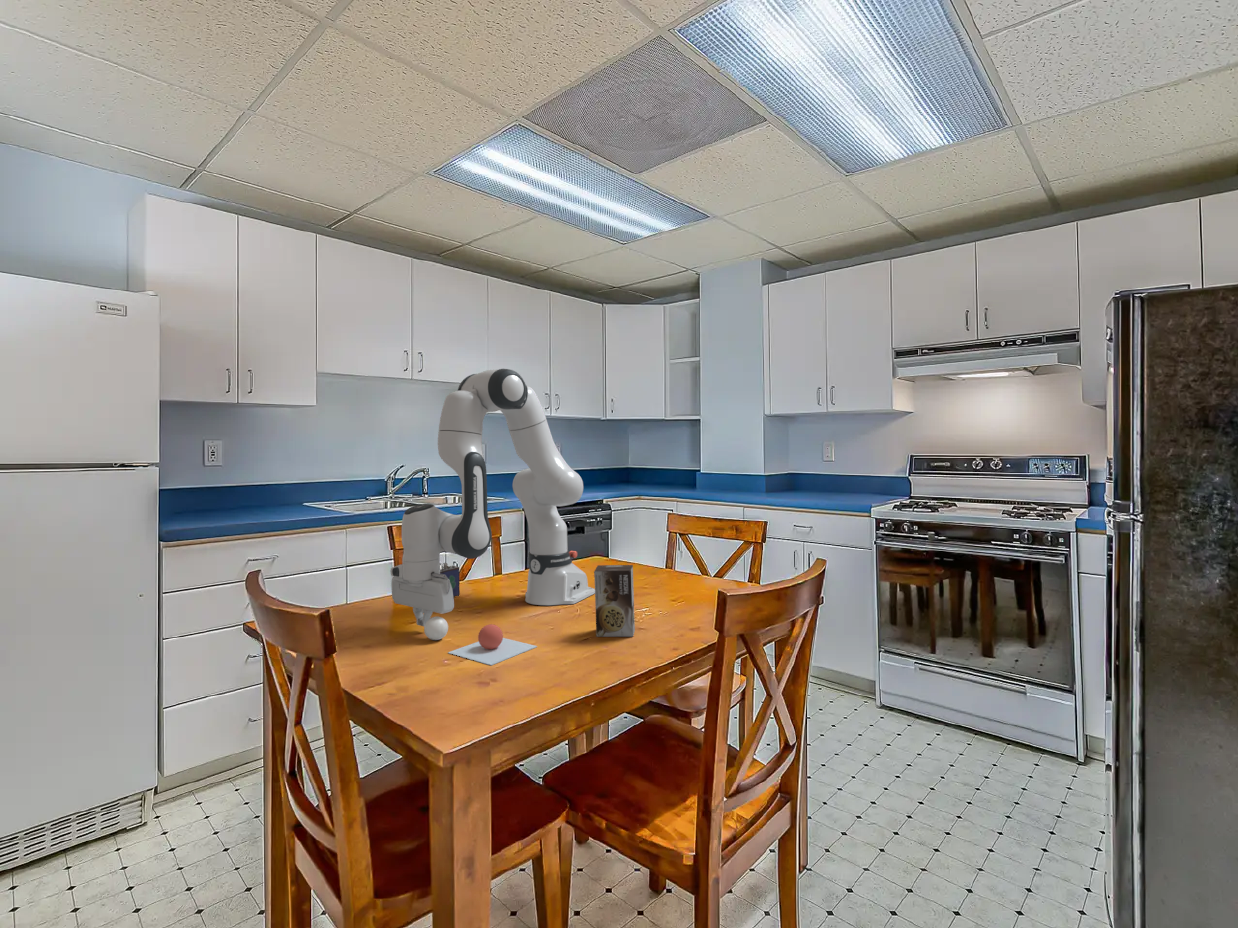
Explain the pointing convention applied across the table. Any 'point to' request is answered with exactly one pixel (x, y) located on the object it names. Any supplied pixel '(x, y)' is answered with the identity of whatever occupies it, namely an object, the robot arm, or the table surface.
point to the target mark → (492, 651)
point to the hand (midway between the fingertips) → (423, 625)
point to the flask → (452, 577)
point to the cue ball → (436, 628)
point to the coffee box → (614, 601)
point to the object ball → (490, 636)
